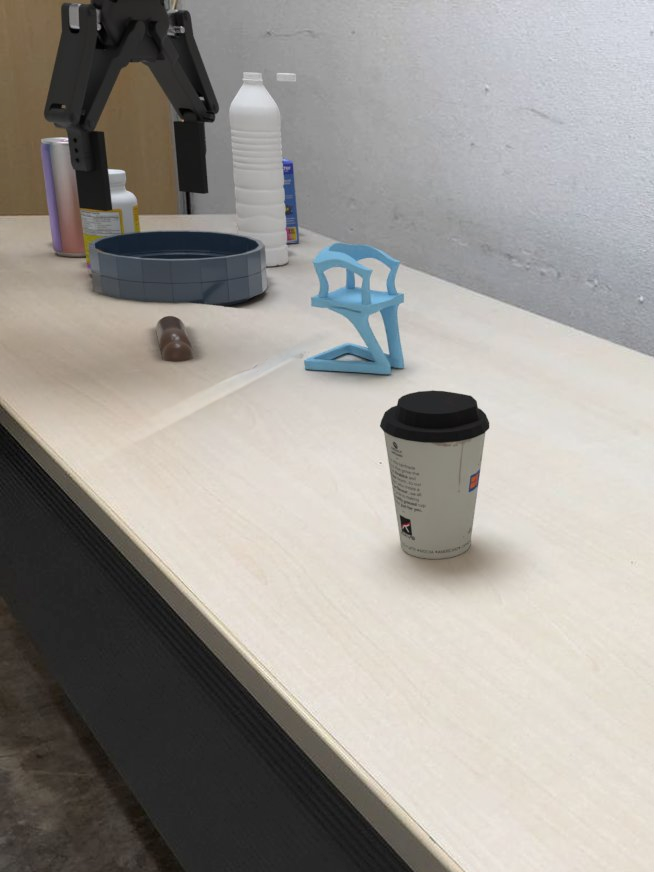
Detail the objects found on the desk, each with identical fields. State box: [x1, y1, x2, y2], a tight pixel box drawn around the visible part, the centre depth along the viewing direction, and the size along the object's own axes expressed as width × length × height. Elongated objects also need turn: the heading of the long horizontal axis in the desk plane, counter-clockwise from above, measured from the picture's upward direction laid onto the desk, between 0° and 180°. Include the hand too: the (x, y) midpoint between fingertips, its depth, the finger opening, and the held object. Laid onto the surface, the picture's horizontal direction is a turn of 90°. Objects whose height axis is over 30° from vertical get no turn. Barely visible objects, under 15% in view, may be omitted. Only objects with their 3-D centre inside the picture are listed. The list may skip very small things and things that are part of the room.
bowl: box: [88, 229, 268, 307], centre depth 135 cm, size 19×19×6 cm
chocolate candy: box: [155, 315, 195, 362], centre depth 111 cm, size 13×3×3 cm, turn 25°
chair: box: [303, 242, 405, 375], centre depth 110 cm, size 8×8×12 cm
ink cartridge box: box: [282, 157, 300, 245], centre depth 169 cm, size 10×6×14 cm, turn 40°
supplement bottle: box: [80, 168, 141, 276], centre depth 141 cm, size 7×7×13 cm
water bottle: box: [228, 71, 297, 268], centre depth 151 cm, size 9×6×25 cm
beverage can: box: [40, 137, 86, 258], centre depth 151 cm, size 6×6×15 cm
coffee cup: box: [379, 390, 490, 560], centre depth 73 cm, size 7×7×10 cm
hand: (147, 200), depth 103 cm, fingers open, 13 cm apart
